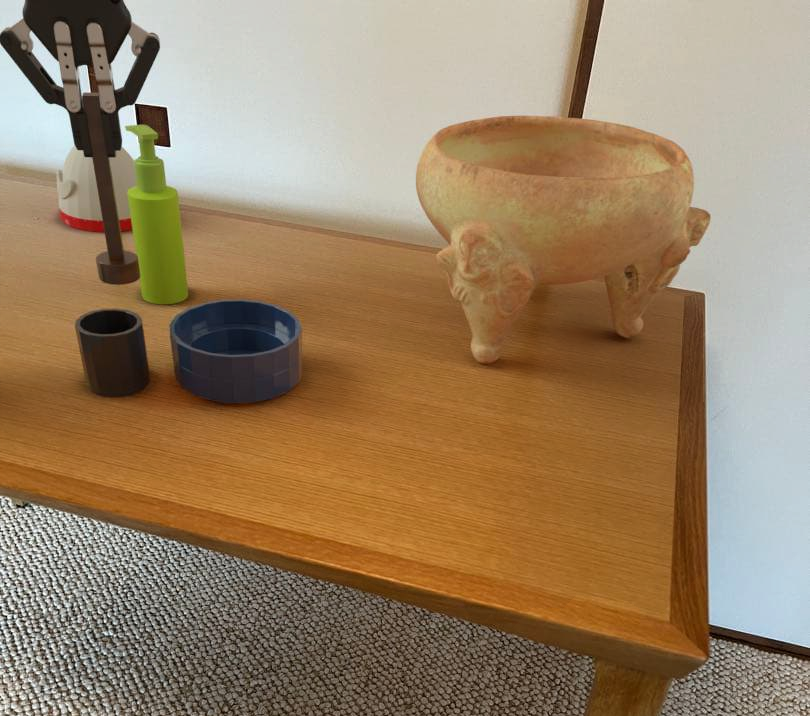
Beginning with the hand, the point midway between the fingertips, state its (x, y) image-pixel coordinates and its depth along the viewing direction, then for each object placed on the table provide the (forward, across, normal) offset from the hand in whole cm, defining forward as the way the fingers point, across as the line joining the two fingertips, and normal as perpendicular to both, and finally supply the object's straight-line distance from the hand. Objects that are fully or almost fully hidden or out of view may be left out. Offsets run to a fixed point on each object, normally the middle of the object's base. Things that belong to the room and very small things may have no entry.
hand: (100, 154), depth 74 cm
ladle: (+12, 0, 0) cm, 12 cm away
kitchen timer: (+23, +5, -53) cm, 58 cm away
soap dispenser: (+24, -3, -23) cm, 33 cm away
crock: (+23, +2, 0) cm, 23 cm away
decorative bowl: (+24, -50, -11) cm, 57 cm away
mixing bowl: (+23, -11, 0) cm, 26 cm away
